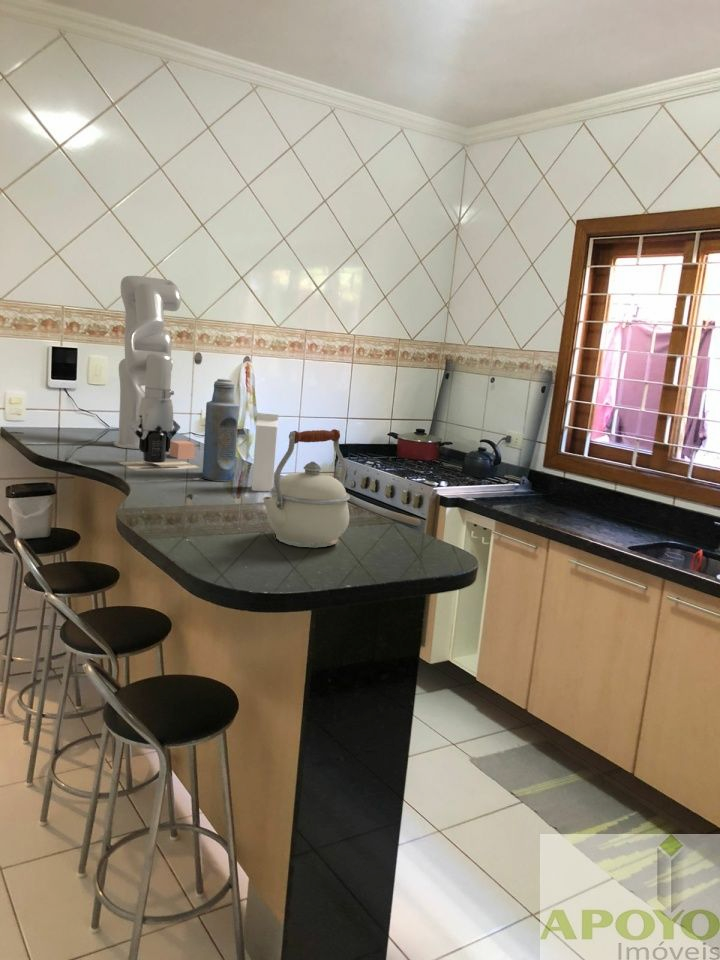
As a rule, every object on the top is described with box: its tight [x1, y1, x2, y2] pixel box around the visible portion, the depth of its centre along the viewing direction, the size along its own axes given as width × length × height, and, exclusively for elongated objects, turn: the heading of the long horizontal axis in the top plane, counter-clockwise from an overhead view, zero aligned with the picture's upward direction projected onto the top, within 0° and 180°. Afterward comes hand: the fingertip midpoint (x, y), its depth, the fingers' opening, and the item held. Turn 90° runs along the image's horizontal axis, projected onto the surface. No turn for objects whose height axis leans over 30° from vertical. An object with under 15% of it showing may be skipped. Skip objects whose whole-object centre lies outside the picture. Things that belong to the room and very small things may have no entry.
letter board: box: [117, 459, 201, 472], centre depth 240 cm, size 14×22×1 cm, turn 130°
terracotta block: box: [169, 440, 196, 460], centre depth 258 cm, size 6×6×6 cm
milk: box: [251, 412, 279, 492], centre depth 221 cm, size 6×6×22 cm
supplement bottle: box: [142, 425, 167, 463], centre depth 238 cm, size 7×7×12 cm
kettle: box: [262, 428, 351, 543], centre depth 168 cm, size 25×18×25 cm
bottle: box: [201, 378, 240, 482], centre depth 230 cm, size 10×10×30 cm
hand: (154, 451), depth 238 cm, fingers closed on supplement bottle, 6 cm apart
